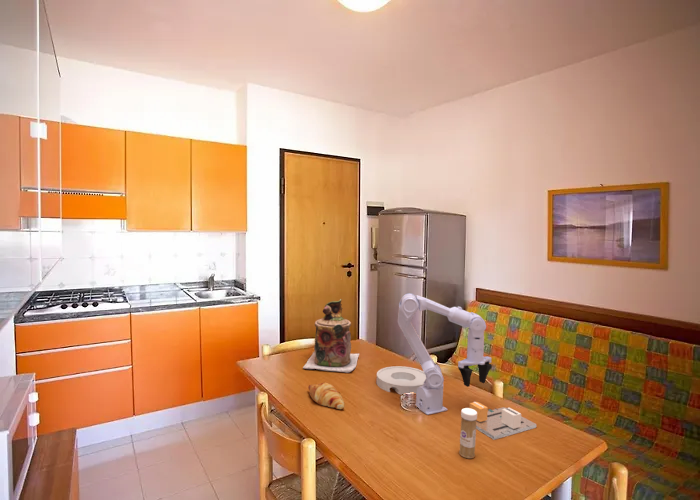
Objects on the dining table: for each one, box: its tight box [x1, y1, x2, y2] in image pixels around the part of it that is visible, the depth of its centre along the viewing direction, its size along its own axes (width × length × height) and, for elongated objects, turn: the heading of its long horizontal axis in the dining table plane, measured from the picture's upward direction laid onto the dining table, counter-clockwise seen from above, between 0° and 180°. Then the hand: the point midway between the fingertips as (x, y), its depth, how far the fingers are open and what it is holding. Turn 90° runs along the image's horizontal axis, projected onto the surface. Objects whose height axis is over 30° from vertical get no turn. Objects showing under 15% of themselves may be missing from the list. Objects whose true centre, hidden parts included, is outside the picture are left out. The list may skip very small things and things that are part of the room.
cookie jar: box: [302, 298, 360, 374], centre depth 192 cm, size 25×25×32 cm
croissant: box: [307, 381, 345, 410], centre depth 151 cm, size 21×10×8 cm, turn 43°
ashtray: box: [376, 365, 426, 396], centre depth 170 cm, size 23×23×4 cm
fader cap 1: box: [469, 401, 489, 422], centre depth 137 cm, size 4×5×5 cm
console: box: [476, 406, 537, 441], centre depth 136 cm, size 20×15×1 cm
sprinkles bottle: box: [458, 407, 477, 460], centre depth 116 cm, size 5×5×14 cm
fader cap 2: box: [501, 407, 522, 429], centre depth 133 cm, size 4×5×5 cm
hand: (474, 384), depth 145 cm, fingers open, 7 cm apart
